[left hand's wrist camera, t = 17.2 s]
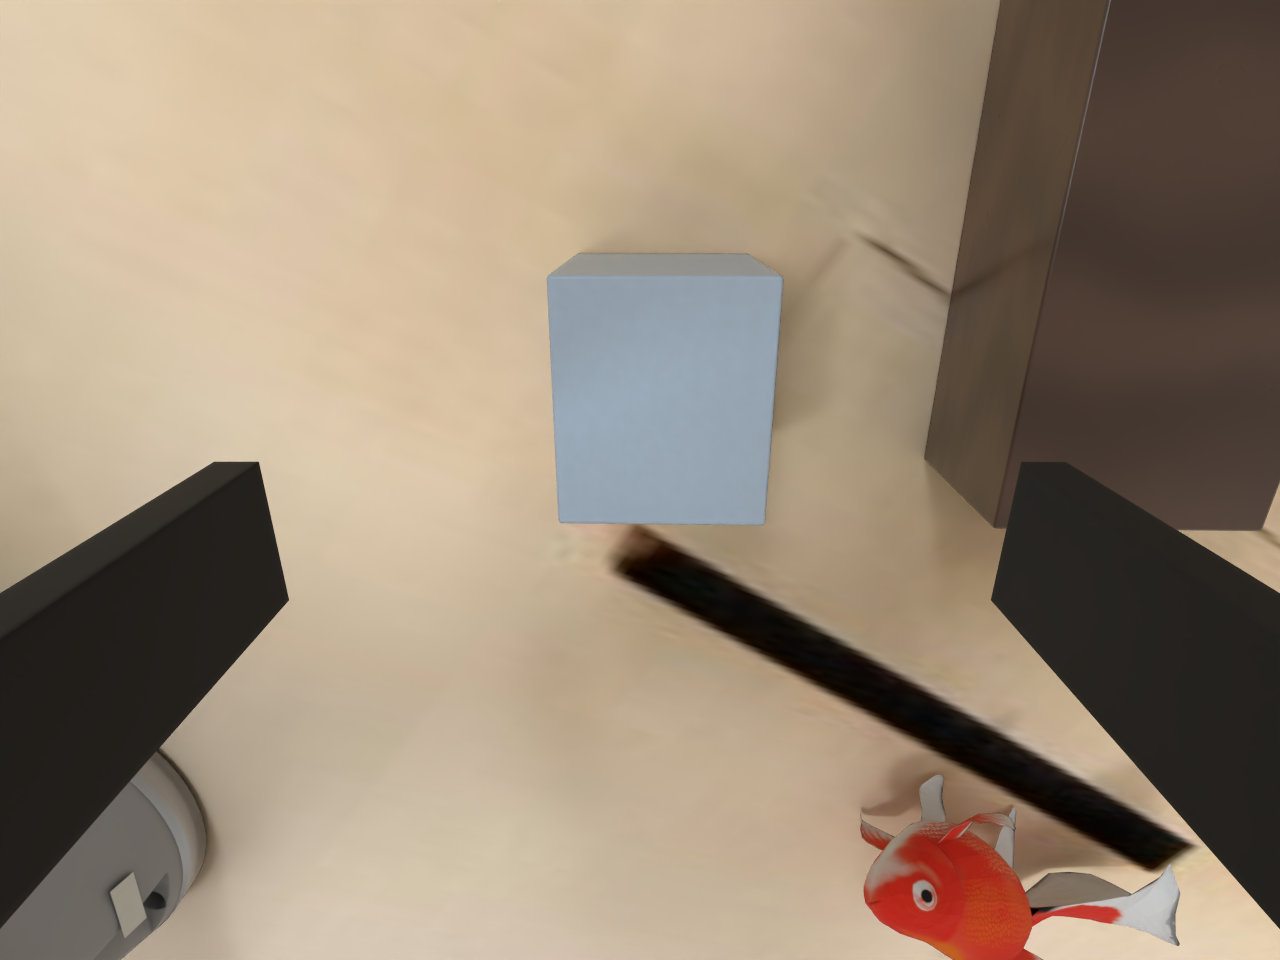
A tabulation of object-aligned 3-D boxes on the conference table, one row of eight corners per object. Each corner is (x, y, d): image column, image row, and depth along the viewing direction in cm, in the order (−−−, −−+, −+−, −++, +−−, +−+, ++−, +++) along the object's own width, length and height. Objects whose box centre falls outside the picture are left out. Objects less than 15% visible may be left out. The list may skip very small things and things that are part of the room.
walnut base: (1135, 461, 26) (1262, 532, 21) (923, 459, 27) (993, 529, 21) (1471, -695, 16) (1914, -1176, 10) (1113, -685, 16) (1357, -1154, 10)
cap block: (739, 445, 27) (765, 526, 20) (582, 444, 27) (558, 524, 20) (750, 253, 24) (784, 275, 17) (576, 253, 24) (545, 275, 18)
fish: (1028, 713, 25) (1179, 1074, 19) (1158, 759, 34) (1288, 1015, 28) (792, 784, 31) (852, 1076, 25) (956, 808, 40) (1028, 1026, 34)
